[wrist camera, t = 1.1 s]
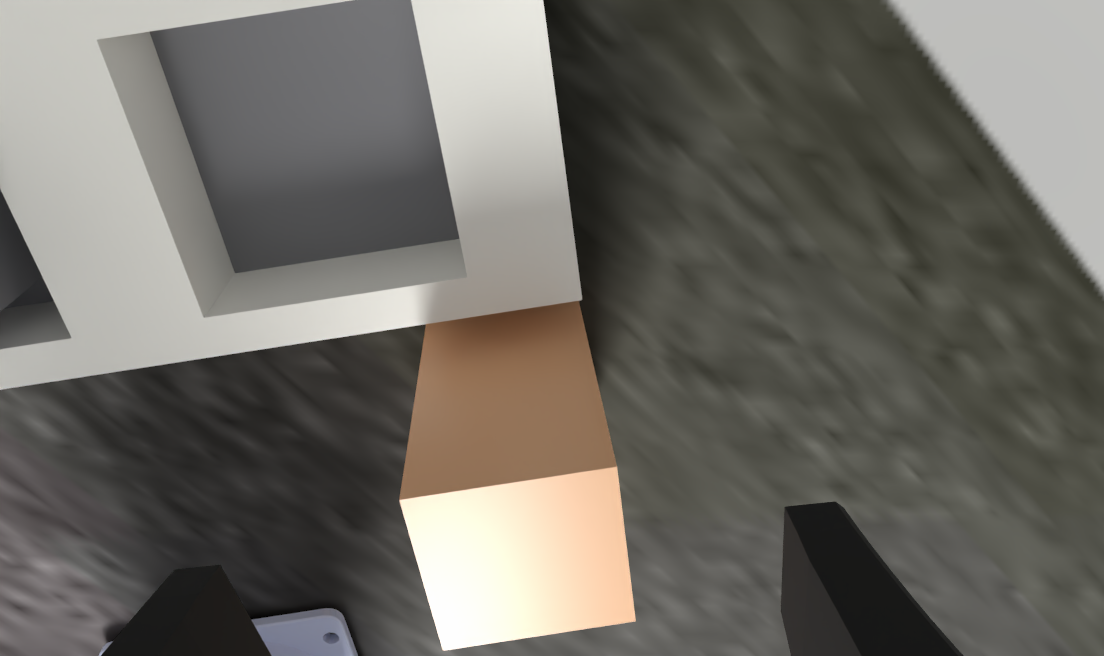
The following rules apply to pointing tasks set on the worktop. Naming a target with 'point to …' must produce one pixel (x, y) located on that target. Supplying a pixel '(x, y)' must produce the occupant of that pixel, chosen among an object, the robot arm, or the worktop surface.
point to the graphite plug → (14, 259)
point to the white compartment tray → (273, 174)
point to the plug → (514, 481)
